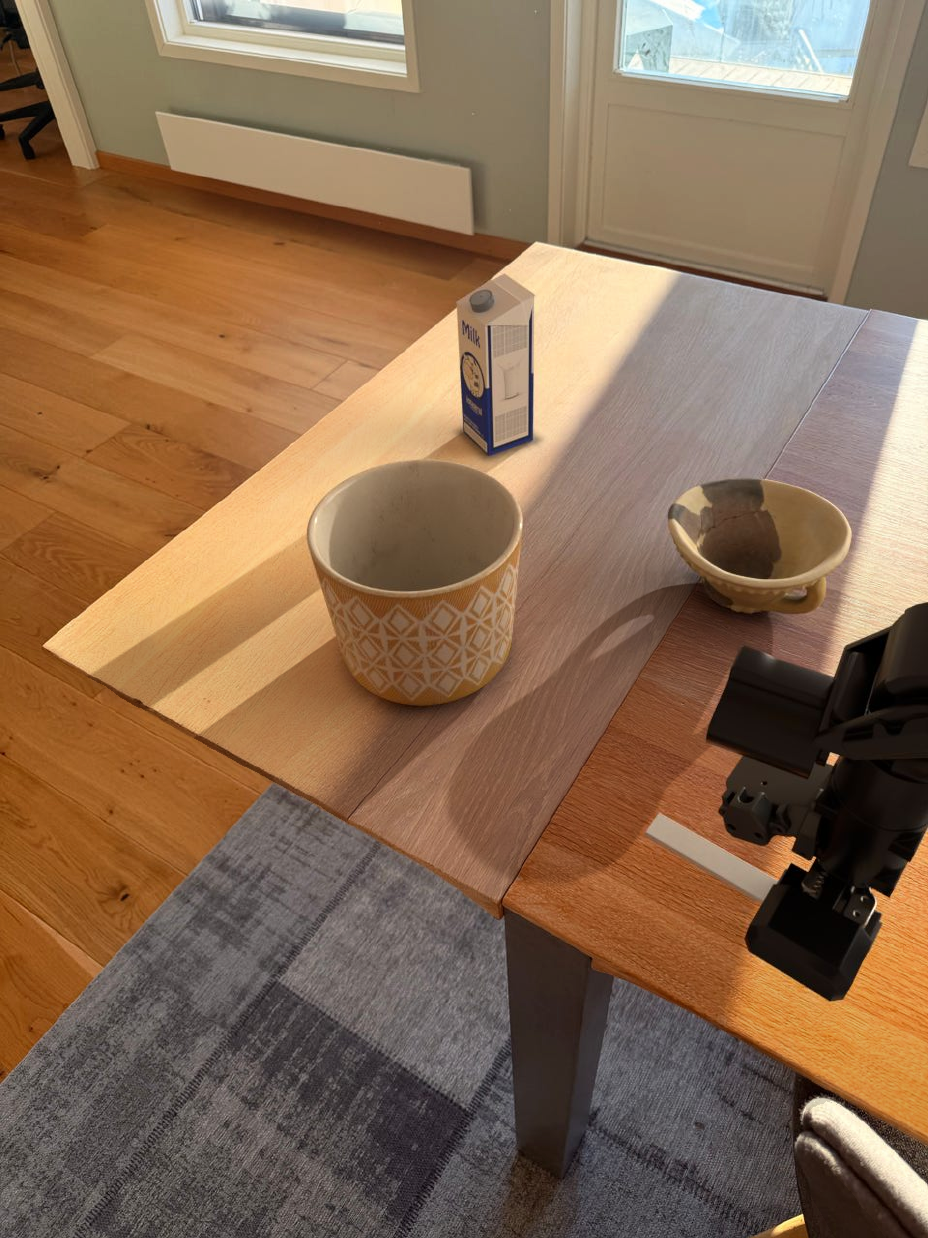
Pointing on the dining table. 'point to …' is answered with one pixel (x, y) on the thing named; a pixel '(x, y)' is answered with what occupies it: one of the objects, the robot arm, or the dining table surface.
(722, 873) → the two-tone stick
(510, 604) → the planter
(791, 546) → the bowl
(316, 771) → the dining table surface
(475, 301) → the milk carton
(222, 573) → the dining table surface
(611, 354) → the dining table surface
